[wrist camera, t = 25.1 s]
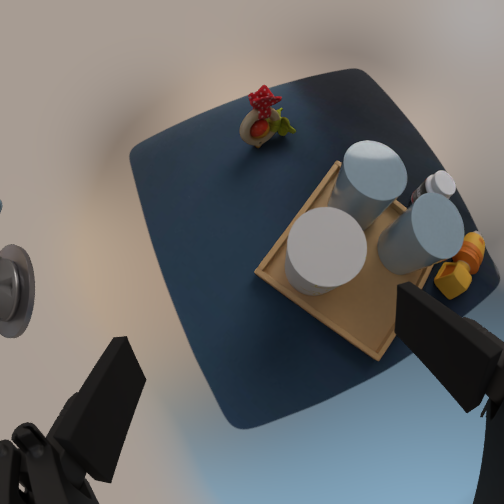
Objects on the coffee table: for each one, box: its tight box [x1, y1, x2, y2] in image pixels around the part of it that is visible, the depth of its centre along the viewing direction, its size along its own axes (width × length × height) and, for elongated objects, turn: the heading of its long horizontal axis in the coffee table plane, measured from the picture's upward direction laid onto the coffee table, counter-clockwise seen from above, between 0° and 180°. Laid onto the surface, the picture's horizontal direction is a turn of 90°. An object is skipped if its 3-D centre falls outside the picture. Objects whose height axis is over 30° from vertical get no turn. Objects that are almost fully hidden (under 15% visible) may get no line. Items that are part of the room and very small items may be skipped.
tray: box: [254, 160, 433, 361], centre depth 37 cm, size 22×22×2 cm
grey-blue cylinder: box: [377, 193, 464, 275], centre depth 32 cm, size 8×8×12 cm
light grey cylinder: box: [285, 207, 367, 296], centre depth 32 cm, size 8×8×12 cm
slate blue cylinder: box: [327, 141, 407, 231], centre depth 34 cm, size 8×8×12 cm
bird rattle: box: [240, 85, 296, 148], centre depth 40 cm, size 6×11×9 cm
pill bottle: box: [411, 170, 456, 203], centre depth 35 cm, size 5×5×8 cm
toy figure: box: [434, 231, 485, 299], centre depth 34 cm, size 5×6×12 cm
